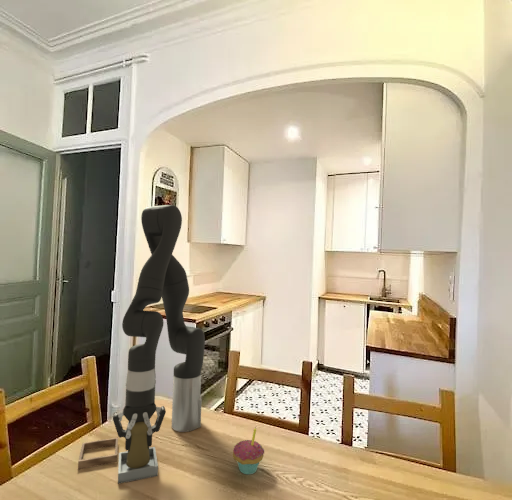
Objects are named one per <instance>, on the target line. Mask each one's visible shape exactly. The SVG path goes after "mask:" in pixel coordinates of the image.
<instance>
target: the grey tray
mask: <svg viewBox="0 0 512 500" xmlns="http://www.w3.org/2000/svg"><path fill="white" fill-rule="evenodd" d="M127 455H128V450H125V451H121V452H118V469H117V470H118V471H117V484H119V483H120V484H122V483H124V482H125V483H128V482H134V481H139V480H145V479H149V478H154V477H158V475H159V473H158V472H159V464H158V458H157V451H156V446H153V447H152V446H150V447H149V456H150V461H149V463H148V464H147V465H145V466H143V467H140V468H129V467H128V466H127V465H126V461H127ZM120 484H119V485H120Z"/></svg>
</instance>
